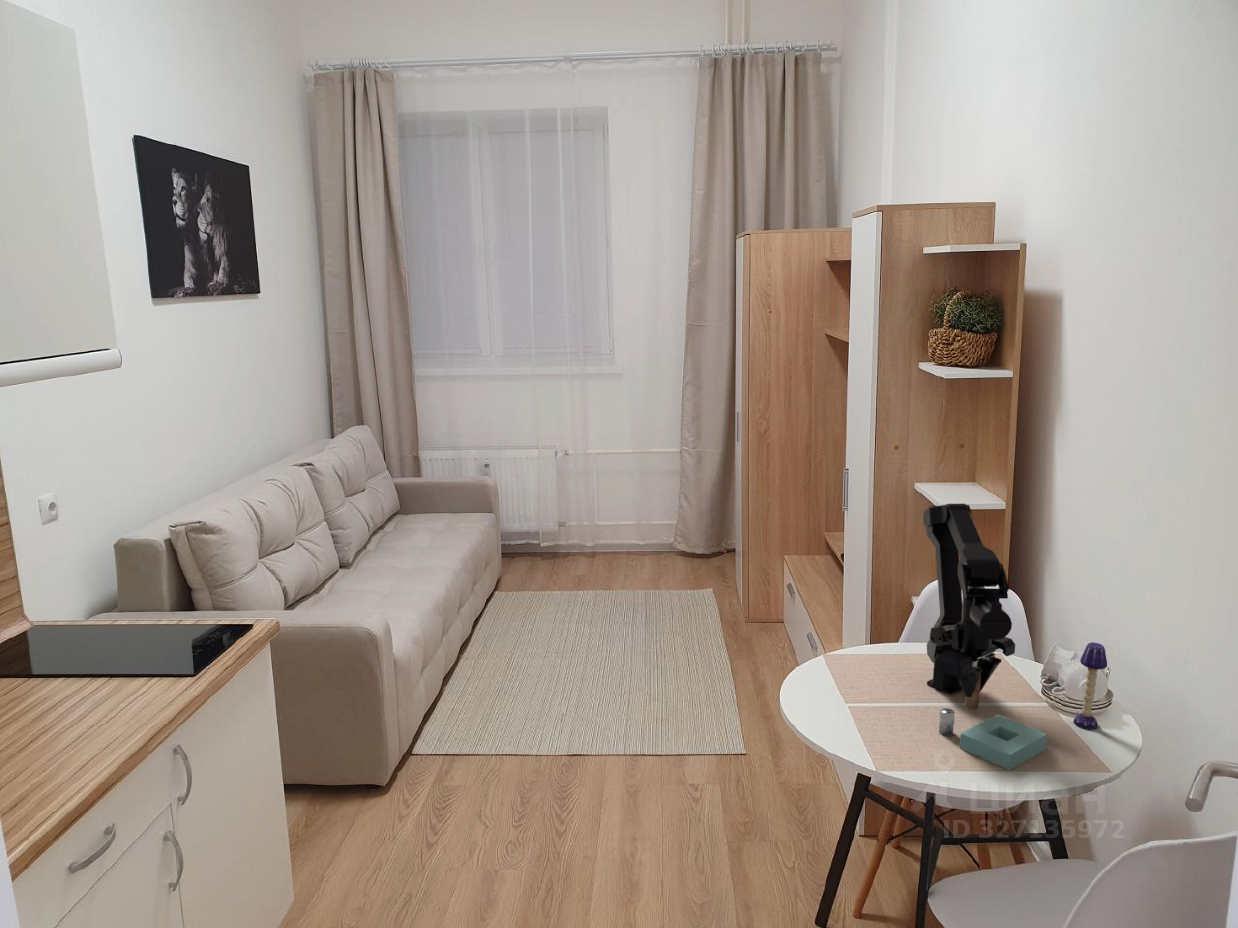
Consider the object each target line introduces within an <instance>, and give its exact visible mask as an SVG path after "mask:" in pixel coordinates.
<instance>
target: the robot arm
mask: <svg viewBox="0 0 1238 928" xmlns="http://www.w3.org/2000/svg"><path fill="white" fill-rule="evenodd" d="M971 511H972V510H971V507H970V505H969V504H966V503H946V504H943V505H929V506H928V508H927V509H925V510H924V512H923V516H922V517H923V518H922V519H923V520H922V521H923V522H922V523H923V525H924V527H925V529H926V537H928V539H929V540H930V542H931V543H932V544H933V545H934V547H935V554H936V555H935V556H936V560H935V561H936V571H937V587H938V588H937V589H938V601H939V615H938V616H939V617H938V618H937V620H936V622H935V624H934V625H933V627H930V633H929V640H928V642H927V644H926V654H927V656H928V658H929V660H930V661H931V662H932V663H933V669H932V670H933V672H932V674H933V675H932V679H930V680H927V681H926V684H927V685H928V686H931V687H933V688H935V689H937V690H941V691H943V692H945V693H948V694H951V695H954V694H956V693H959V692H961V691H963V694H964V697H965V696H966V697H969V698H970V697H971V696H972V694H973V692H974V690H975V687H976V685H977V682H978V679H979V677H980V675H981V683H980V693H981V692H982V690H983V688H984V687H985V686H986V684H987V682H988V680H989V679H990V677H992V674H993V673H994V671H996V669H997V668H998V666H999V665H1000V664H1001V663H1002V659H1001V658H998V657H996V654H995V652H996V651H997V650H999V649H1000V650H1002V654H1003V655H1004V656H1005V657H1010V656H1012V655H1014V654H1015V652H1016V643H1015V642H1014V641H1013V639H1012V638H1010V637H1007V636H1008V635H1009V633H1010V632H1011V630H1012V626H1013V622H1012V619H1011V617H1010V615H1009V614H1008V613H1007V612H1006V611H1005V610H1004V609H1003V605H1002V603H1001V602H1000V599H1009V594H1008V592H1009V591H1010V587H1009V581H1008V578H1007V573H1006V570H1005V568H1004V566H1003V563H1002V562H1000V559H999V558H998V556H997V554H996V553H995V552H994V551H993V550H992V549H989V548H988V547H986V546H985V545H984V543H983V541H982V539H981V537H980V534H979V532H978V529H977V527H976V525H975V523H974V521H973V518H972V515H971V514H972V513H971ZM997 586H998V588H996V587H997ZM977 667H979V668H977ZM980 668H981V669H980Z"/></svg>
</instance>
